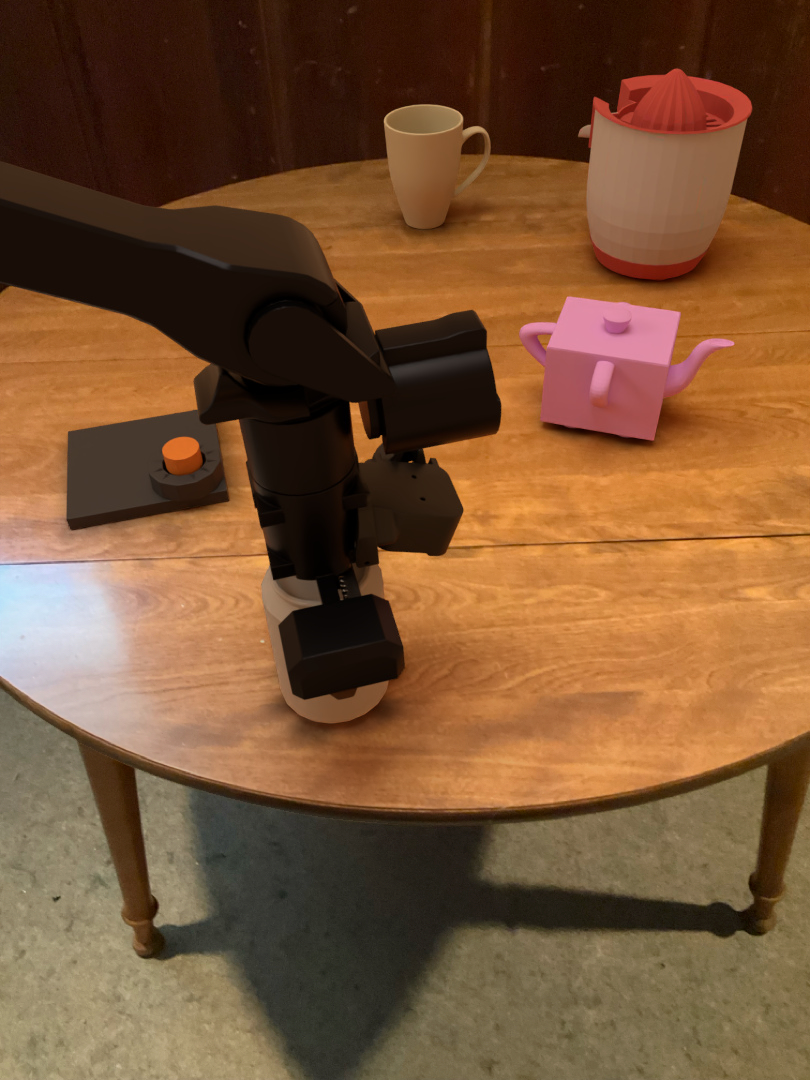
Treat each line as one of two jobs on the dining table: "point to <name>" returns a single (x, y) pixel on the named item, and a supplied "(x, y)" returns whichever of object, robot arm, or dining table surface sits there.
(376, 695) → the can
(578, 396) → the teapot
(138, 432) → the dark grey flat block
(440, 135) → the mug
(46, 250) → the robot arm
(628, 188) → the citrus juicer
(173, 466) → the button
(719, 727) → the dining table surface
